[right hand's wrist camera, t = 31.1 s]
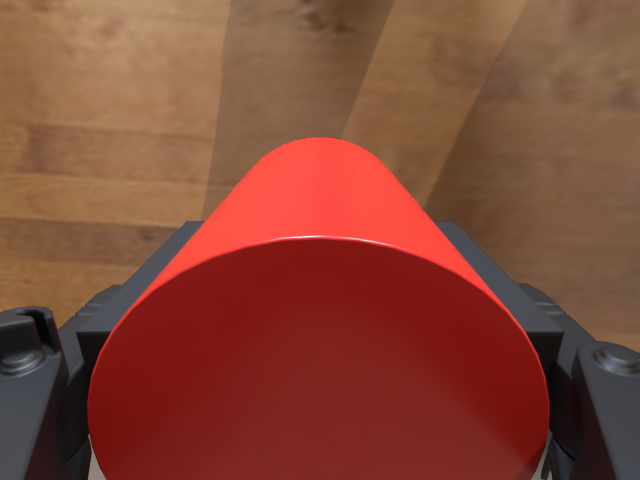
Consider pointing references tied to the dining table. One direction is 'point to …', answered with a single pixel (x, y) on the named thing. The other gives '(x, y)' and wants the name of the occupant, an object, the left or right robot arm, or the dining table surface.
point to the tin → (318, 343)
